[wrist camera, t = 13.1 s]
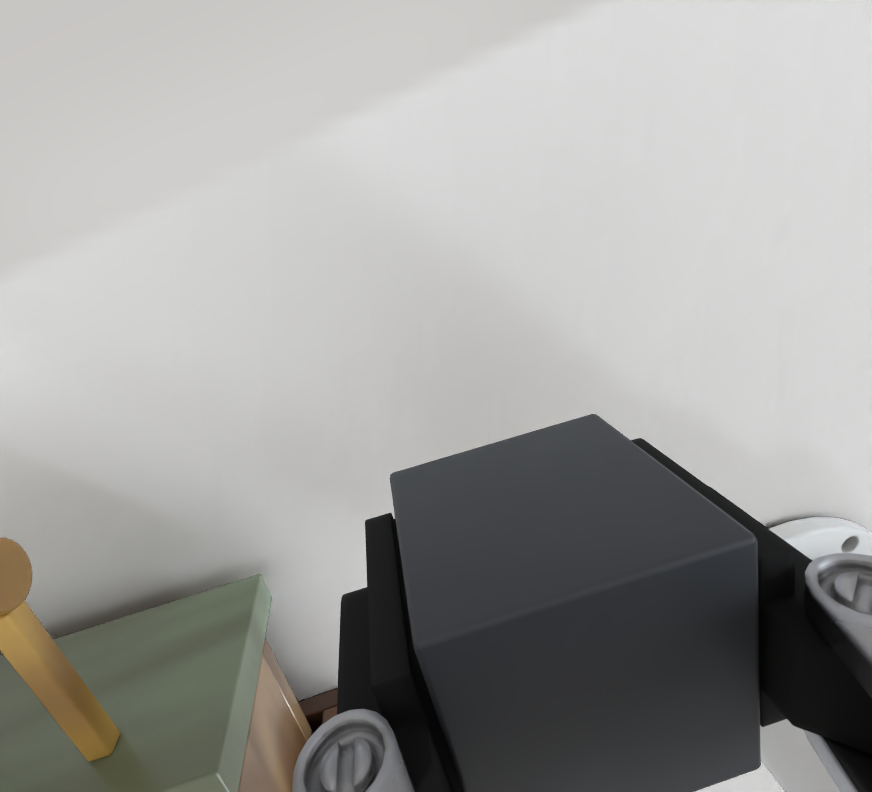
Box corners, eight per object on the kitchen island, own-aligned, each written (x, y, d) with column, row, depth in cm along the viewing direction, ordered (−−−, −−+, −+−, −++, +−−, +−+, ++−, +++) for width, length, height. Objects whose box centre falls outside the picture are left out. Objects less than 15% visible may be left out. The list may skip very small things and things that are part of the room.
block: (595, 411, 10) (760, 536, 6) (618, 578, 12) (763, 770, 7) (388, 472, 10) (412, 647, 6) (439, 635, 11) (488, 868, 7)
